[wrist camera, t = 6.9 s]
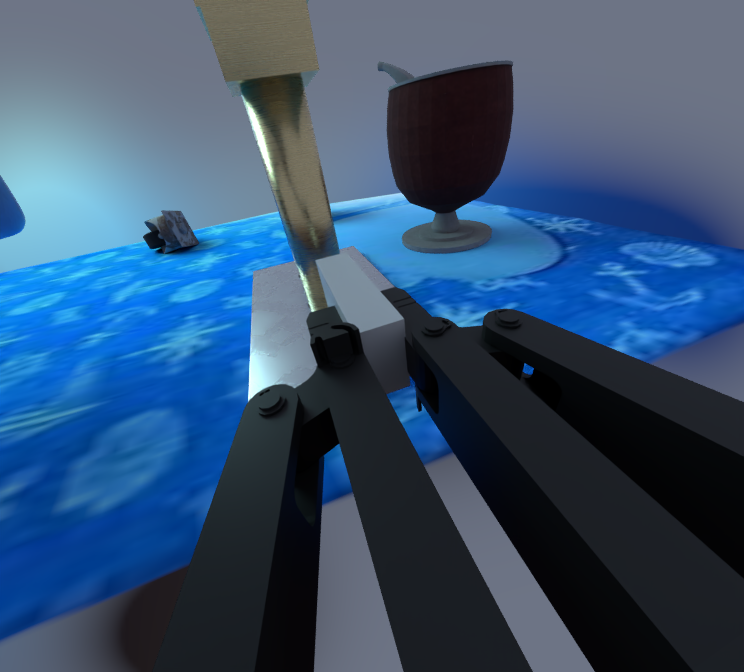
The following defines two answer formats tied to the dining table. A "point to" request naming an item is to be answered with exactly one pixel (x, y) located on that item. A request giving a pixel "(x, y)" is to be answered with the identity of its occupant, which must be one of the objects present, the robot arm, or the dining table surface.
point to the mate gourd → (448, 146)
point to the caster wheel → (169, 232)
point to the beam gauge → (287, 321)
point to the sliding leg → (279, 115)
